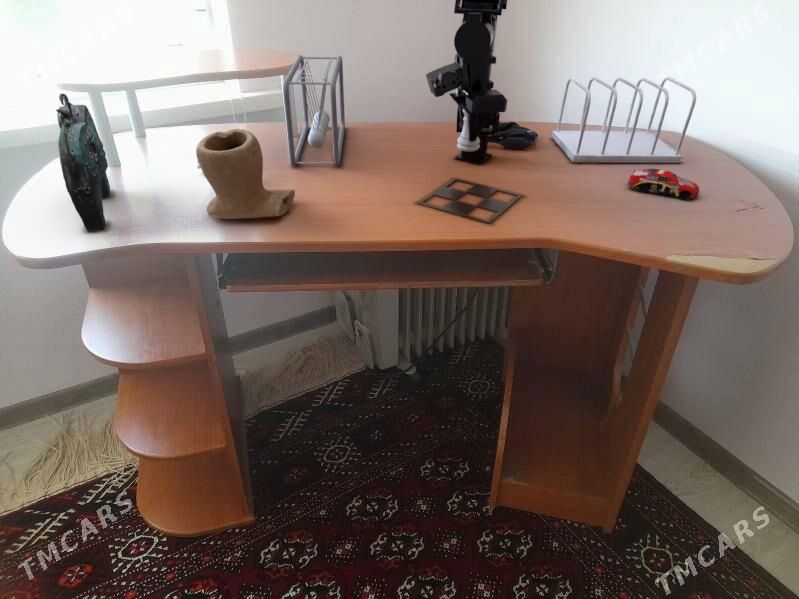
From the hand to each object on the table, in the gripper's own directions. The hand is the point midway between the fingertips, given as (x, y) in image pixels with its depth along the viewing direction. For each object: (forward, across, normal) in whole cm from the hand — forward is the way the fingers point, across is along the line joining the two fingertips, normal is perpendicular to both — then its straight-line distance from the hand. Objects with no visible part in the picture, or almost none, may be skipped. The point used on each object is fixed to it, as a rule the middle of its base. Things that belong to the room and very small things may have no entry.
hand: (468, 137), depth 103 cm
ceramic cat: (+11, -4, -69) cm, 70 cm away
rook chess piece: (+2, 0, 0) cm, 2 cm away
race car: (+11, +8, +39) cm, 42 cm away
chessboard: (+11, +5, 0) cm, 12 cm away
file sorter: (+11, -16, +42) cm, 47 cm away
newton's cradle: (+11, -31, -26) cm, 42 cm away
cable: (+11, -28, +18) cm, 35 cm away
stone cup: (+11, +4, -42) cm, 43 cm away
